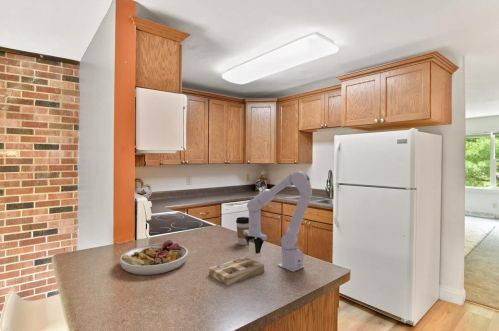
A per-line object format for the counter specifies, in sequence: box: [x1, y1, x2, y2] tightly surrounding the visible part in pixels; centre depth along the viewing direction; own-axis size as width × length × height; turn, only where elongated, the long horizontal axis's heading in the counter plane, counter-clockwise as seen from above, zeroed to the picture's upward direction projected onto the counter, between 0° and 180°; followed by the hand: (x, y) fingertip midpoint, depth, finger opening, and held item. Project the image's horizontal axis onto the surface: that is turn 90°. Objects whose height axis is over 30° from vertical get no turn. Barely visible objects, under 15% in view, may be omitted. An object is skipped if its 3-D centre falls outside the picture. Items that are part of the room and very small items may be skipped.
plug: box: [248, 237, 262, 259], centre depth 133 cm, size 4×4×8 cm
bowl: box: [119, 239, 189, 276], centre depth 130 cm, size 30×30×8 cm
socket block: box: [208, 256, 265, 286], centre depth 119 cm, size 13×20×3 cm, turn 132°
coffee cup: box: [235, 216, 249, 246], centre depth 161 cm, size 8×8×15 cm
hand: (254, 251), depth 133 cm, fingers closed on plug, 4 cm apart
